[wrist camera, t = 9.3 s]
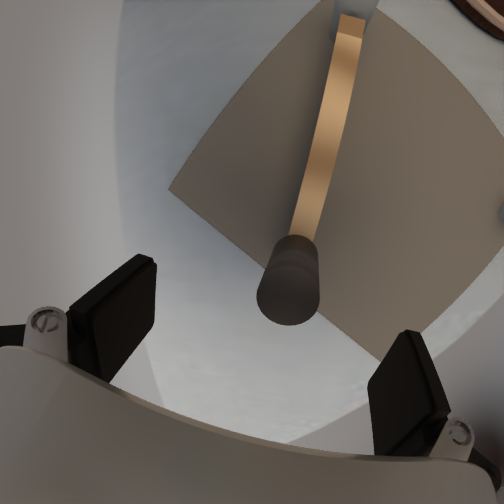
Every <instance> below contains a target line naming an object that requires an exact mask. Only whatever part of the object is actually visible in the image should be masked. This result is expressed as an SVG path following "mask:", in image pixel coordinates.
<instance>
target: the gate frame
mask: <svg viewBox="0 0 504 504" xmlns="http://www.w3.org/2000/svg"><path fill="white" fill-rule="evenodd" d="M378 1H379V0H334V8H333V16H332V23H331V30H330V36H331V39H332V41H333V42H334V43H335V40H336V35H337V31H338V26H339V21H340V16H341V14H345V15H349V16H352V17H356V18H359V19H363V20H365V26H364V32H363V35H364V33H365V31H366V28H367V26H368V24H369V22H370V19H371V17H372V15H373V13H374V10H375V8H376V6H377V4H378ZM497 213H498V215H499V216H500V218H501V220H502V222H503V223H504V203H503V204H502V206H501V207H500V208H499V210H498V211H497Z"/></svg>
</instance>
